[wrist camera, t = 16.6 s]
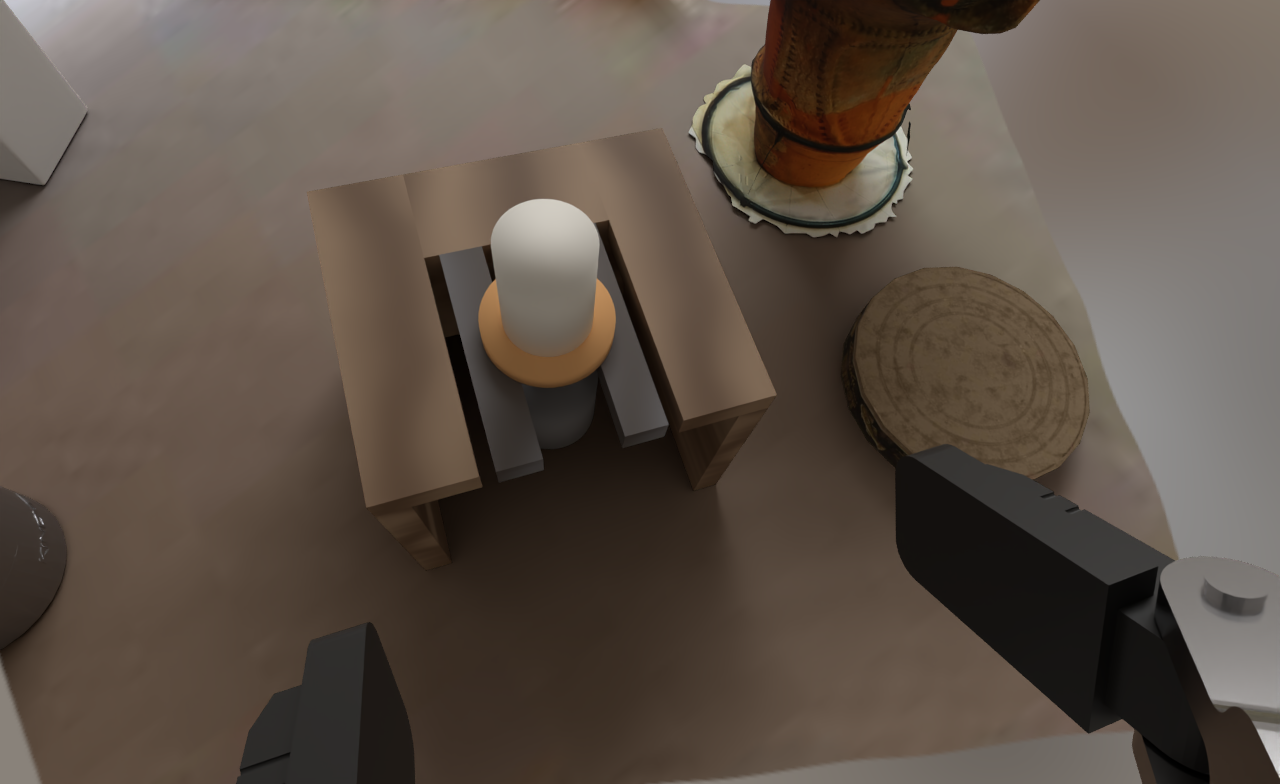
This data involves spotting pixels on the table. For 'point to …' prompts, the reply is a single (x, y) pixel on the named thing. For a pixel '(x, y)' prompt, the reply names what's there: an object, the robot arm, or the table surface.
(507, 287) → the cylinder with orange collar
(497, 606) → the table surface
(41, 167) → the milk carton
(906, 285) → the wood slice
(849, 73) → the decorative vase
